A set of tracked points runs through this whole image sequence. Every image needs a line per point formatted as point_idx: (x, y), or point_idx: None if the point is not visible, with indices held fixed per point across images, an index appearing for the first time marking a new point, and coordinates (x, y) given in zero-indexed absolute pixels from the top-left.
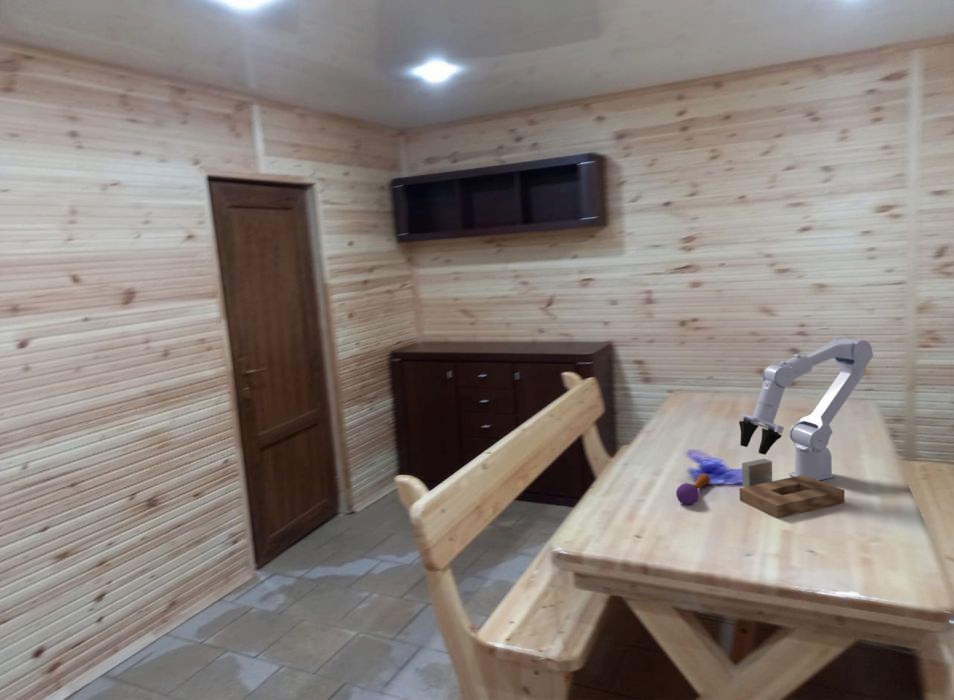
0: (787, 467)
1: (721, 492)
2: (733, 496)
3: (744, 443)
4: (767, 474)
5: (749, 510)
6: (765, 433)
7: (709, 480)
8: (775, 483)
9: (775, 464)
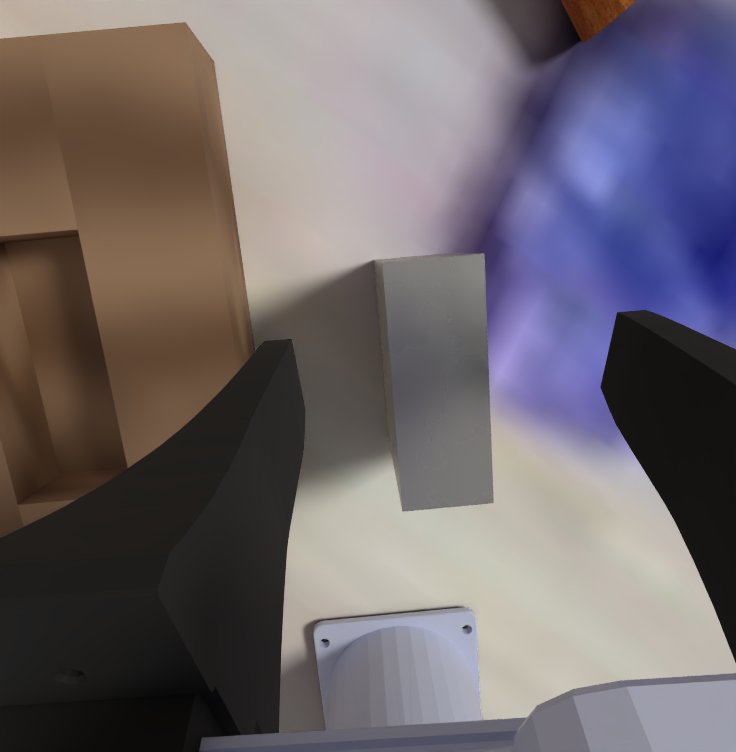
0: (580, 674)
1: (396, 32)
2: (296, 67)
3: (626, 362)
4: (390, 427)
5: (28, 7)
6: (79, 524)
7: (583, 34)
8: (188, 353)
9: (656, 650)
